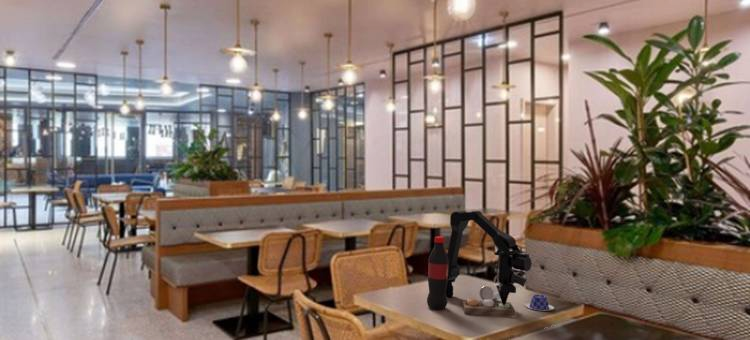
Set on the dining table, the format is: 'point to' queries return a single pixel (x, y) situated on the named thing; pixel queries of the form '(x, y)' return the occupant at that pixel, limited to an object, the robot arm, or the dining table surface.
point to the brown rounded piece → (472, 302)
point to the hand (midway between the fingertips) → (503, 304)
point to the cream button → (488, 303)
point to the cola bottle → (437, 275)
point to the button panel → (488, 309)
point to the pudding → (539, 303)
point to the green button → (504, 305)
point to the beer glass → (489, 293)
